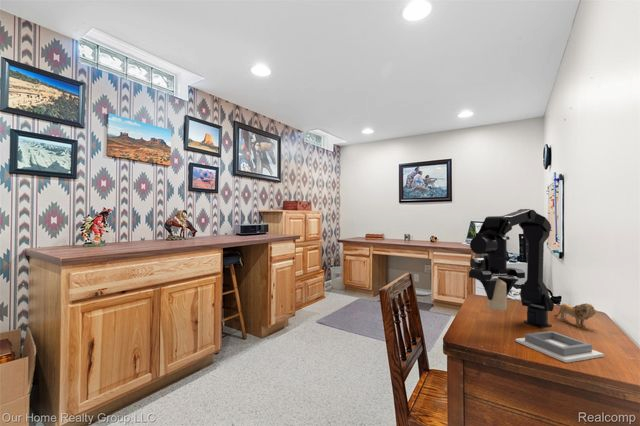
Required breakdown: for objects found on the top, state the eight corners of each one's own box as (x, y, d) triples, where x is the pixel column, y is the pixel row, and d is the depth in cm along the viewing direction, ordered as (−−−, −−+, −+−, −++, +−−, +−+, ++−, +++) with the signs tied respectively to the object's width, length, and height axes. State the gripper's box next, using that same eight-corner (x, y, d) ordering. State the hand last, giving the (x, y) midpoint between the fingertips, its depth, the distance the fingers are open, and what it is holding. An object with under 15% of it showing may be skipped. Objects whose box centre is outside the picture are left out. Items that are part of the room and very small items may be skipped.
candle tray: (549, 336, 99) (549, 328, 99) (603, 356, 85) (603, 346, 85) (515, 341, 95) (515, 332, 95) (566, 362, 81) (566, 352, 81)
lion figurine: (600, 329, 107) (599, 304, 107) (588, 330, 106) (588, 305, 106) (558, 317, 121) (558, 294, 122) (548, 317, 120) (548, 295, 120)
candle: (509, 311, 97) (509, 280, 97) (491, 310, 98) (490, 279, 98) (502, 306, 102) (502, 277, 102) (485, 305, 103) (485, 276, 104)
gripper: (497, 250, 111) (497, 292, 110) (456, 251, 106) (456, 295, 105) (526, 253, 100) (526, 299, 100) (482, 254, 95) (482, 303, 94)
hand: (496, 299), depth 100 cm, fingers closed on candle, 5 cm apart
